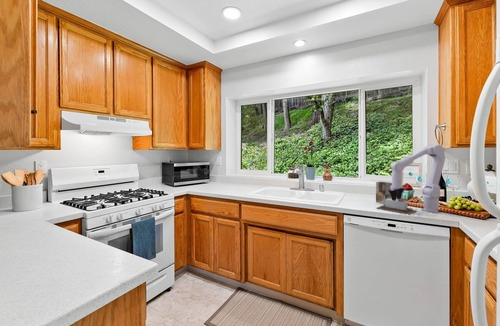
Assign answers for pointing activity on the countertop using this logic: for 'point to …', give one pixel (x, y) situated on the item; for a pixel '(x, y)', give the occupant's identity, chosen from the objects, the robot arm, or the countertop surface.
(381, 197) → the coffee box
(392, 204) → the gray rectangular block
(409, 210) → the jig
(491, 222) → the countertop surface
